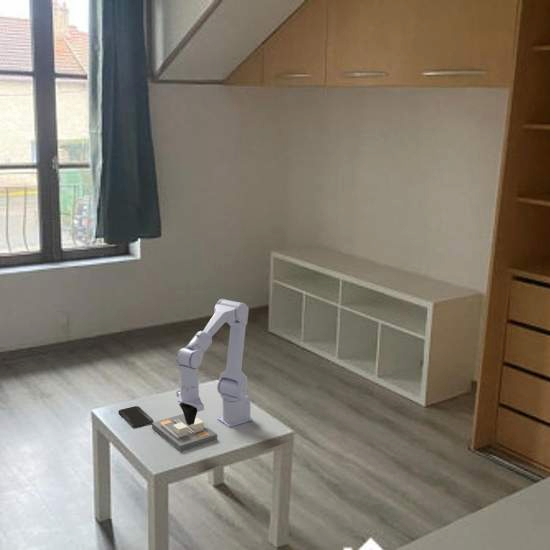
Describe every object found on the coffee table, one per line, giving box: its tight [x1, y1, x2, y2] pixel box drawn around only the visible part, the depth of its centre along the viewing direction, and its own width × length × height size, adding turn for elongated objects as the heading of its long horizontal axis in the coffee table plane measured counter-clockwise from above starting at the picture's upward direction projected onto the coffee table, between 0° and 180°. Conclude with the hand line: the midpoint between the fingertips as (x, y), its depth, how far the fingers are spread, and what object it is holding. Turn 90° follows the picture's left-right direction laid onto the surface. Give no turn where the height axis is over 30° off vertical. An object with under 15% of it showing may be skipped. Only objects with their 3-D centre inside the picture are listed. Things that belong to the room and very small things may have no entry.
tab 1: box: [173, 422, 188, 438], centre depth 241 cm, size 4×4×3 cm
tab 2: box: [189, 417, 205, 433], centre depth 244 cm, size 4×4×3 cm
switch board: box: [151, 413, 218, 452], centre depth 245 cm, size 14×20×3 cm
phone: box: [118, 405, 154, 429], centre depth 258 cm, size 8×1×15 cm
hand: (190, 423), depth 234 cm, fingers closed
